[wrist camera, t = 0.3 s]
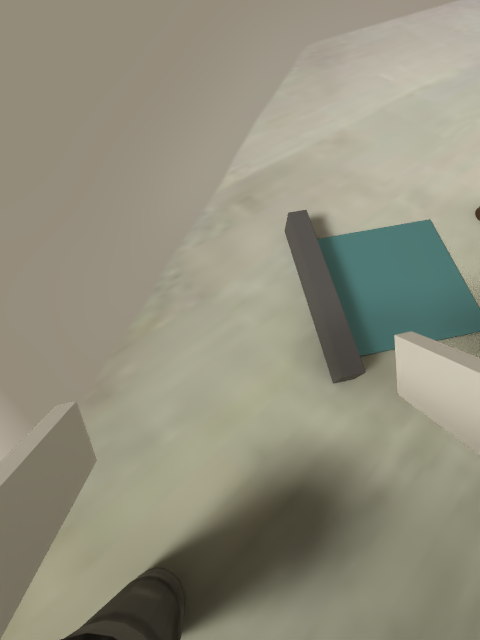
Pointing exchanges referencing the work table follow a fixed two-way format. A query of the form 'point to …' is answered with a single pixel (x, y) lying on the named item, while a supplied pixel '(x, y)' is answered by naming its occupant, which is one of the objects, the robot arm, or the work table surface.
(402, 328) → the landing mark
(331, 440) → the work table surface
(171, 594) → the beverage cup
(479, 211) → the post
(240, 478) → the work table surface
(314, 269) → the stopper wall
